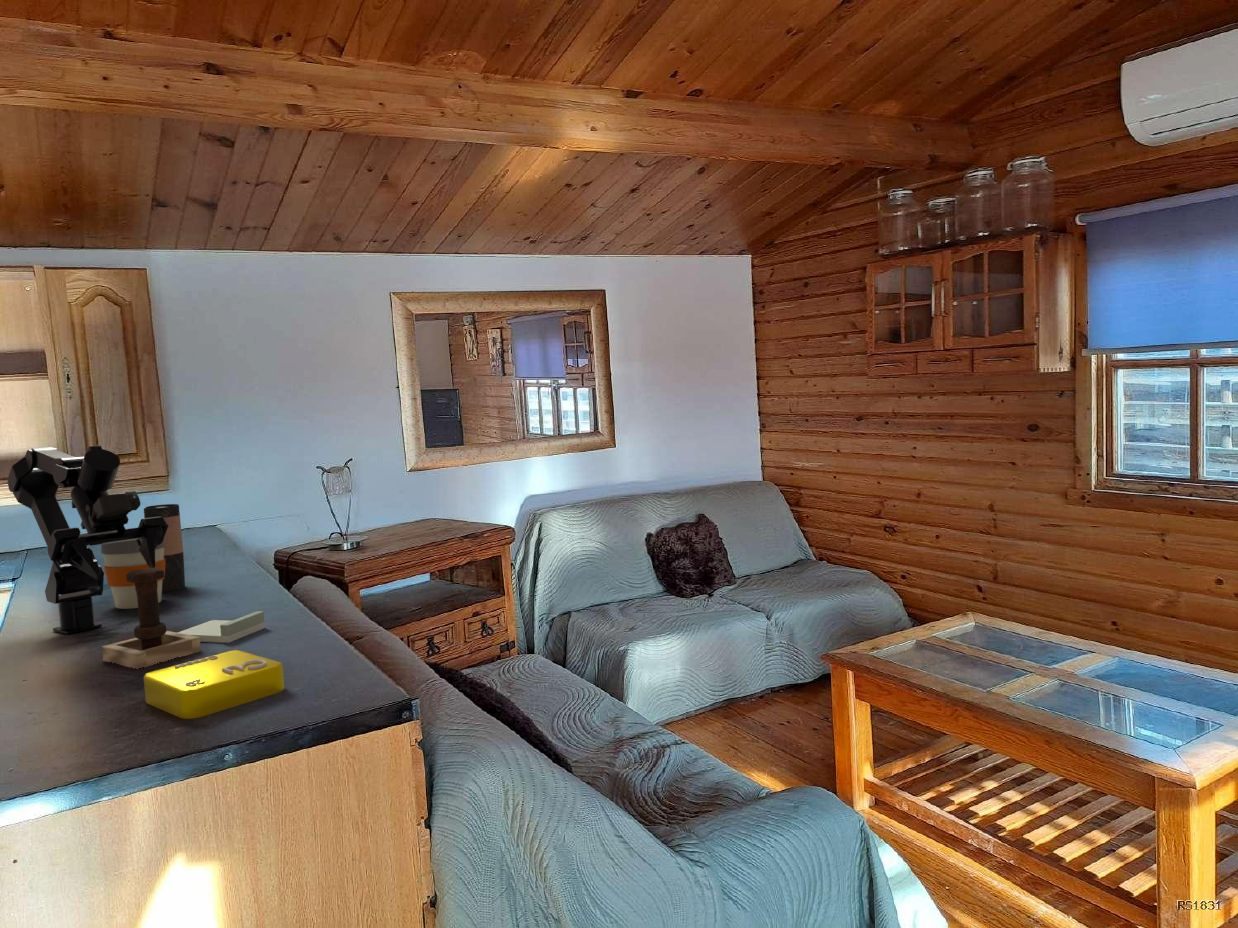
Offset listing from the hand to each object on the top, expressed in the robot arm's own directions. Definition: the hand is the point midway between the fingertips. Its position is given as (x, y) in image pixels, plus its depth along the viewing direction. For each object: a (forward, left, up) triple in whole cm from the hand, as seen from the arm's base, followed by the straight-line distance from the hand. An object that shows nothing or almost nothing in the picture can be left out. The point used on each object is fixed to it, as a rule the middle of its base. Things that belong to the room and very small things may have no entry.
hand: (126, 572), depth 155 cm
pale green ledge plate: (+6, +13, -14) cm, 20 cm away
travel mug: (-46, +33, -14) cm, 58 cm away
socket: (+8, -1, -14) cm, 16 cm away
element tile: (+38, -8, -15) cm, 41 cm away
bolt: (+8, -1, -14) cm, 16 cm away
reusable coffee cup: (-37, +21, -14) cm, 45 cm away
